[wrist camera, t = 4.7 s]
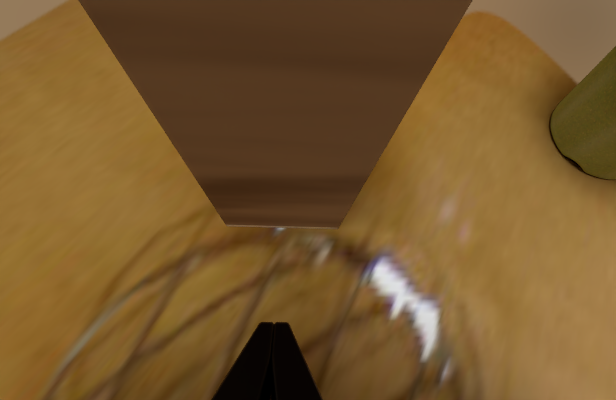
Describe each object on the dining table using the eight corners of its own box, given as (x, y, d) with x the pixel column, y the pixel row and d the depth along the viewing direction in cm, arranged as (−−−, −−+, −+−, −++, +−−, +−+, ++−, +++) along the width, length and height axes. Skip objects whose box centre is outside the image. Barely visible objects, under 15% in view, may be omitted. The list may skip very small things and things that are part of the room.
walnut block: (337, 229, 18) (485, -23, 5) (226, 226, 17) (42, -55, 4) (335, 133, 20) (433, -230, 7) (236, 129, 19) (132, -263, 6)
